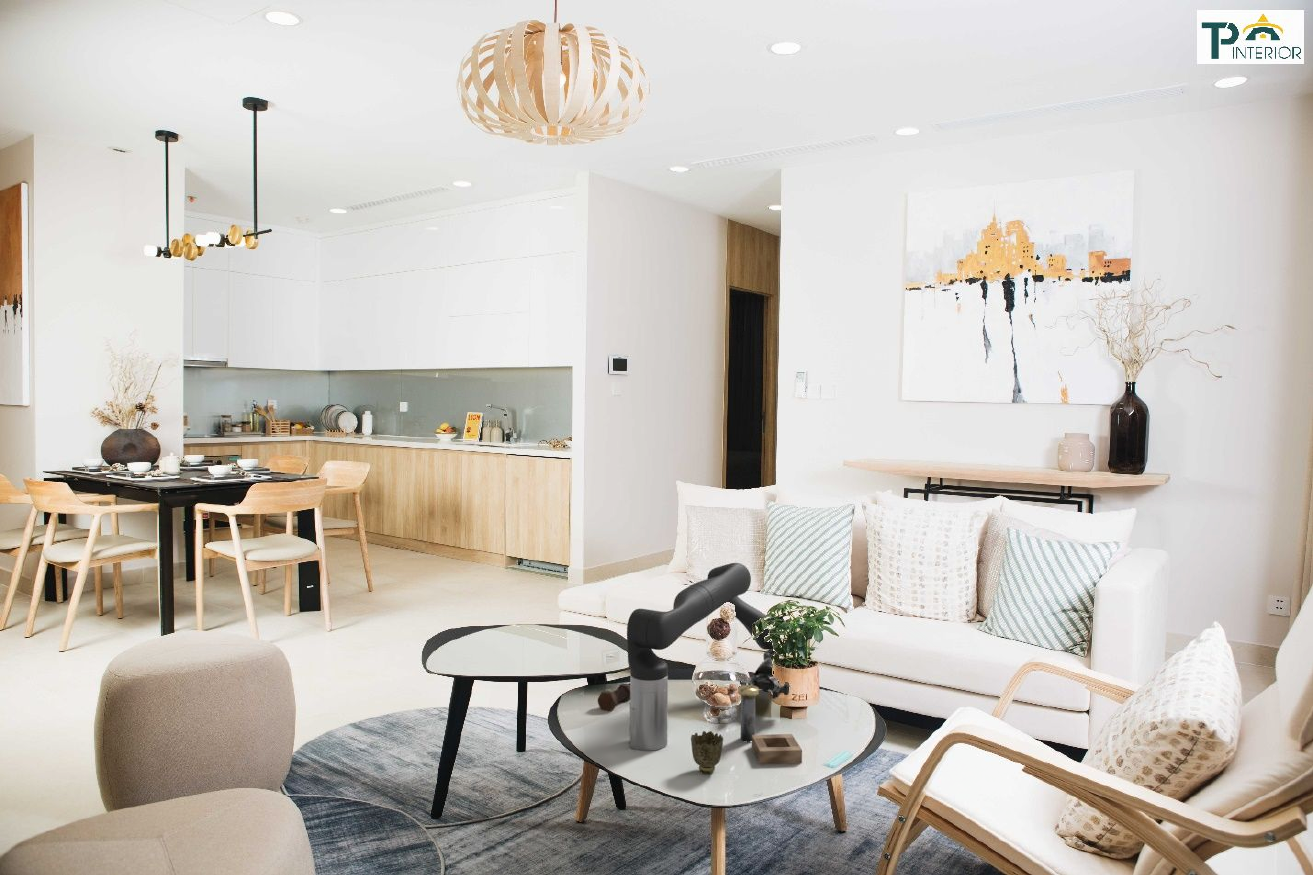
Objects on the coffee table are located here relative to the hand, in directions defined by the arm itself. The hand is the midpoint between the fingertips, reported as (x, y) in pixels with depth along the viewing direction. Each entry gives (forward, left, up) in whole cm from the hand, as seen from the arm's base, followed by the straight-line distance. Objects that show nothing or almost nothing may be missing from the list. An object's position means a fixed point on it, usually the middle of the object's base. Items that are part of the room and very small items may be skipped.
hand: (757, 693), depth 232 cm
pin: (-5, -10, -8) cm, 14 cm away
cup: (-18, -28, -8) cm, 34 cm away
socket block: (0, -20, -8) cm, 22 cm away
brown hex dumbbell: (-35, +19, -9) cm, 41 cm away
